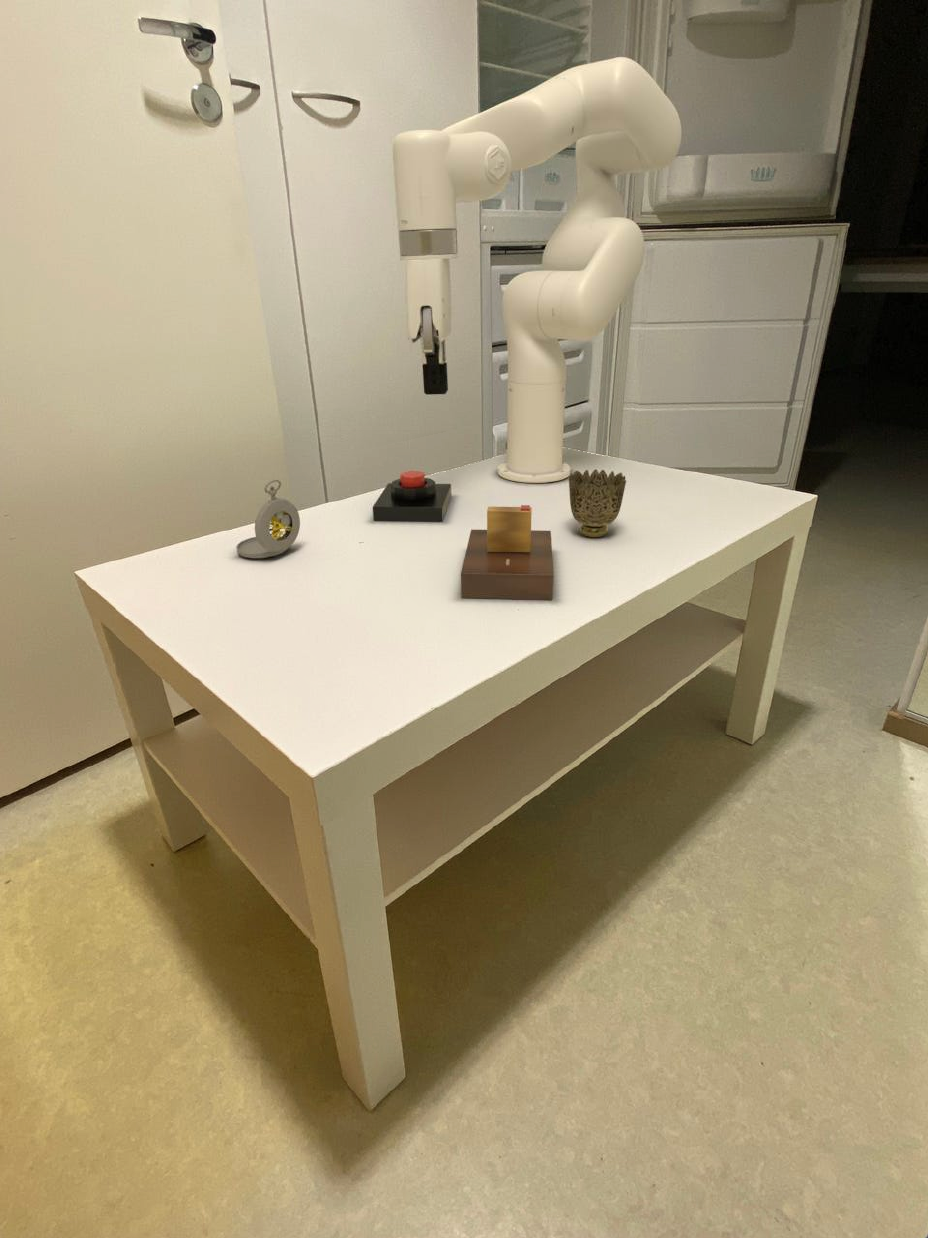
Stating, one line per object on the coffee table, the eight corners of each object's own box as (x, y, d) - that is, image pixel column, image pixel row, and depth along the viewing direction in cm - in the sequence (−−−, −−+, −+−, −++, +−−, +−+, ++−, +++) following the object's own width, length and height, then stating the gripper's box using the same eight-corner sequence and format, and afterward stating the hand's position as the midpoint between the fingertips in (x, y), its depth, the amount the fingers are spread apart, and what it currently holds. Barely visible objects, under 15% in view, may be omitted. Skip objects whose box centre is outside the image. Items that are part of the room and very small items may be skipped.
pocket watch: (246, 542, 94) (234, 468, 90) (308, 542, 94) (299, 468, 89) (226, 566, 87) (211, 487, 82) (293, 565, 87) (282, 486, 82)
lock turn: (487, 551, 81) (487, 508, 79) (488, 546, 83) (487, 504, 80) (530, 552, 81) (531, 509, 79) (530, 547, 82) (531, 504, 80)
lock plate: (471, 551, 90) (471, 528, 88) (549, 552, 89) (550, 529, 88) (461, 598, 78) (460, 571, 76) (552, 600, 77) (553, 573, 75)
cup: (621, 545, 91) (626, 485, 87) (563, 542, 92) (566, 482, 89) (621, 526, 97) (626, 469, 94) (567, 523, 99) (570, 467, 95)
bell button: (403, 482, 106) (402, 470, 105) (426, 482, 106) (426, 470, 105) (399, 488, 103) (398, 477, 102) (423, 489, 102) (422, 477, 102)
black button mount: (388, 496, 112) (387, 471, 110) (451, 497, 111) (450, 472, 109) (373, 521, 101) (371, 494, 99) (442, 522, 100) (441, 495, 98)
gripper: (409, 247, 98) (418, 384, 106) (388, 248, 85) (400, 404, 93) (463, 245, 97) (467, 383, 106) (450, 246, 84) (456, 403, 93)
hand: (436, 392), depth 99 cm, fingers closed
